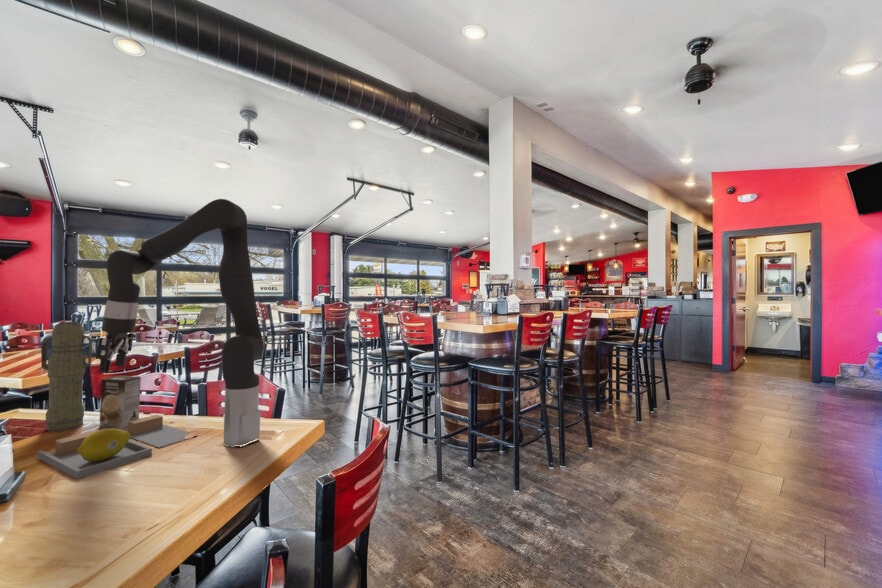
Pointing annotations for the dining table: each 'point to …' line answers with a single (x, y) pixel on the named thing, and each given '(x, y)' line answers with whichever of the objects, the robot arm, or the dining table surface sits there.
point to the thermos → (66, 375)
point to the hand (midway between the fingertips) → (112, 369)
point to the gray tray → (78, 467)
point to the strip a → (154, 431)
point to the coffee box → (119, 400)
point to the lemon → (103, 444)
